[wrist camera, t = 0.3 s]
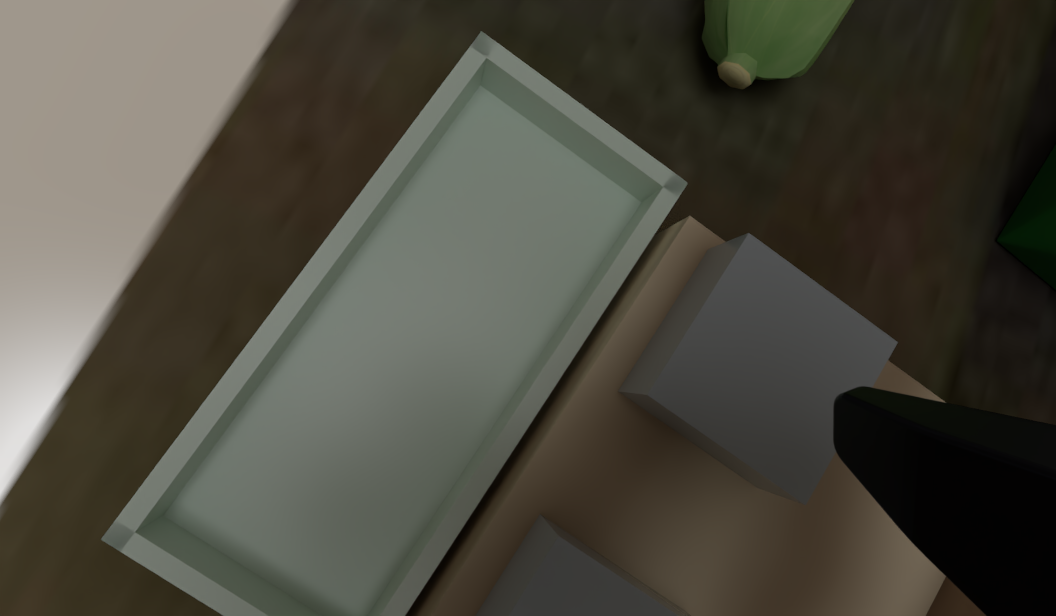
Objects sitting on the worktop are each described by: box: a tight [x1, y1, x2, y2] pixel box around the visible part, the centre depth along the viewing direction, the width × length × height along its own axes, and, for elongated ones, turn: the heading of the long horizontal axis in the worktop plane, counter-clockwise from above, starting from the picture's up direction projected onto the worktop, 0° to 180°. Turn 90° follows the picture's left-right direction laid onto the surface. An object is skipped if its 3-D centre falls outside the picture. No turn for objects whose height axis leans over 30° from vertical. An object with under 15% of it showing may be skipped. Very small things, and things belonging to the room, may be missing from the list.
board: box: [405, 216, 946, 616], centre depth 22 cm, size 17×15×4 cm
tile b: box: [618, 233, 898, 505], centre depth 19 cm, size 5×5×2 cm
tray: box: [101, 31, 688, 616], centre depth 21 cm, size 8×18×2 cm, turn 145°
